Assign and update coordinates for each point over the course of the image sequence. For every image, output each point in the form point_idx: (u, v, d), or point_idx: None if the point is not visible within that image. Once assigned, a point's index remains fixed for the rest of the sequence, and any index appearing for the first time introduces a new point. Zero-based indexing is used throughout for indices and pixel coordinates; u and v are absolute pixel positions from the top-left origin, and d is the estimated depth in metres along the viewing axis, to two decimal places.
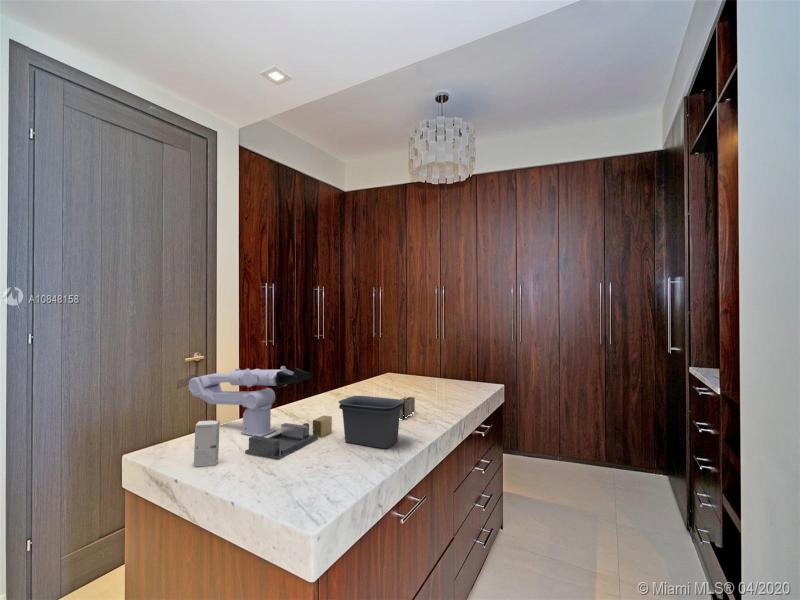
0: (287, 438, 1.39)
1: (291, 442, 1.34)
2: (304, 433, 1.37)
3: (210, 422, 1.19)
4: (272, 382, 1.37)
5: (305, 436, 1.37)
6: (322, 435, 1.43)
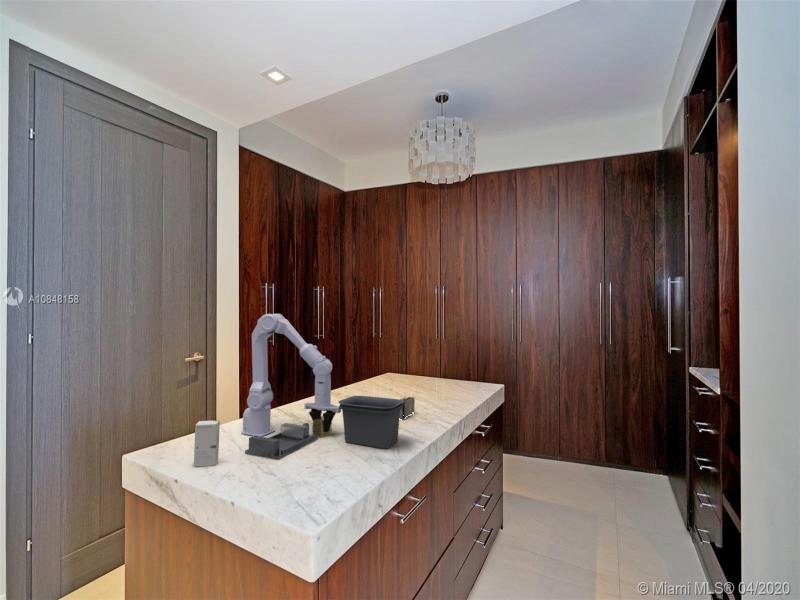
0: (287, 438, 1.39)
1: (291, 442, 1.34)
2: (304, 433, 1.37)
3: (210, 422, 1.19)
4: (338, 411, 1.43)
5: (305, 436, 1.37)
6: (322, 435, 1.43)
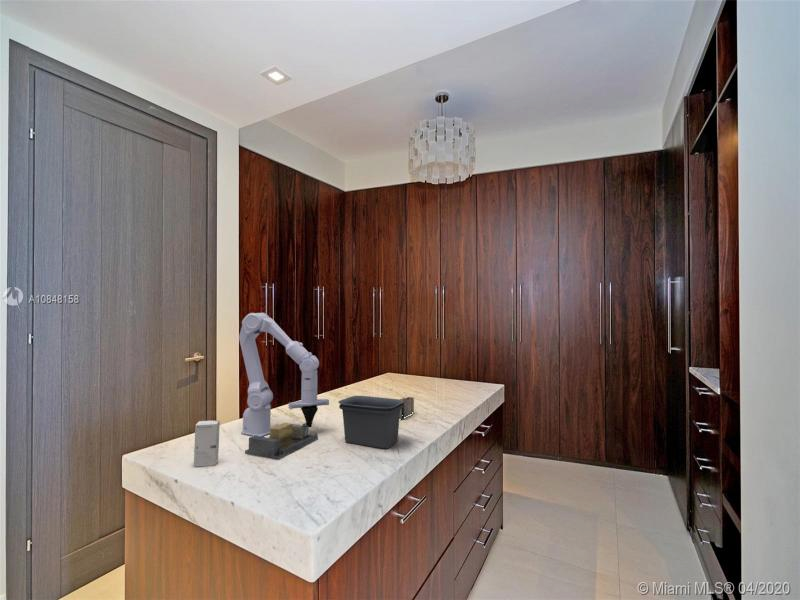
0: None
1: (291, 442, 1.34)
2: (303, 433, 1.36)
3: (210, 422, 1.19)
4: None
5: (305, 436, 1.37)
6: (280, 445, 1.30)
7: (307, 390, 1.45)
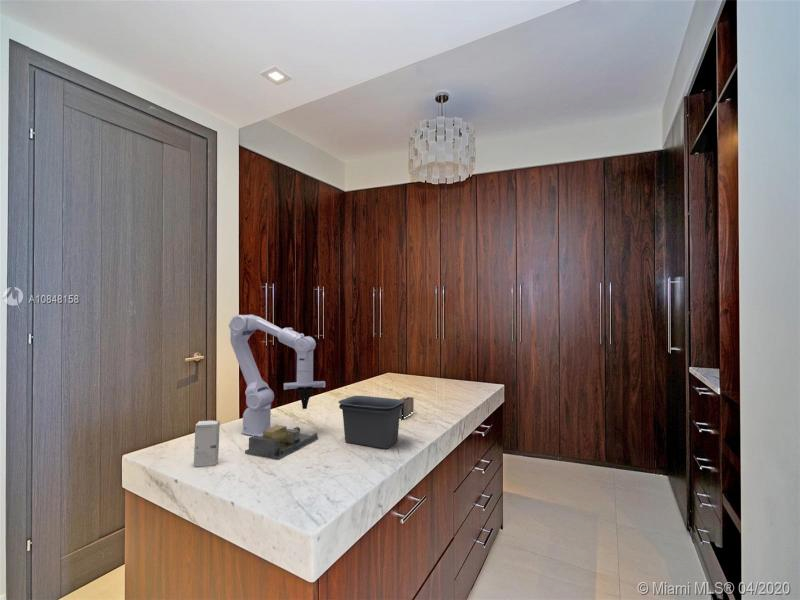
0: None
1: None
2: (294, 437, 1.32)
3: (210, 422, 1.19)
4: None
5: (295, 441, 1.32)
6: None
7: (301, 371, 1.42)
